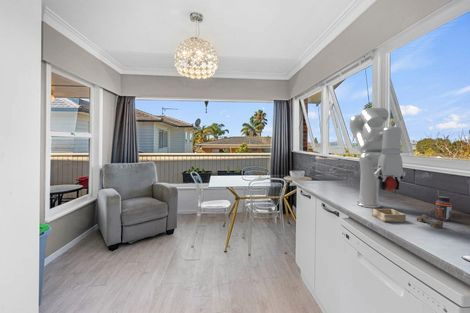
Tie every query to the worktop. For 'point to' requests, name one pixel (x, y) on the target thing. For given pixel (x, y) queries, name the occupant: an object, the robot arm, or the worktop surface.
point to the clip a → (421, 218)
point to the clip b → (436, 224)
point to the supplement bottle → (443, 209)
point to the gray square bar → (430, 221)
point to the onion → (390, 183)
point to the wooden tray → (388, 215)
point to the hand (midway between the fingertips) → (389, 188)
